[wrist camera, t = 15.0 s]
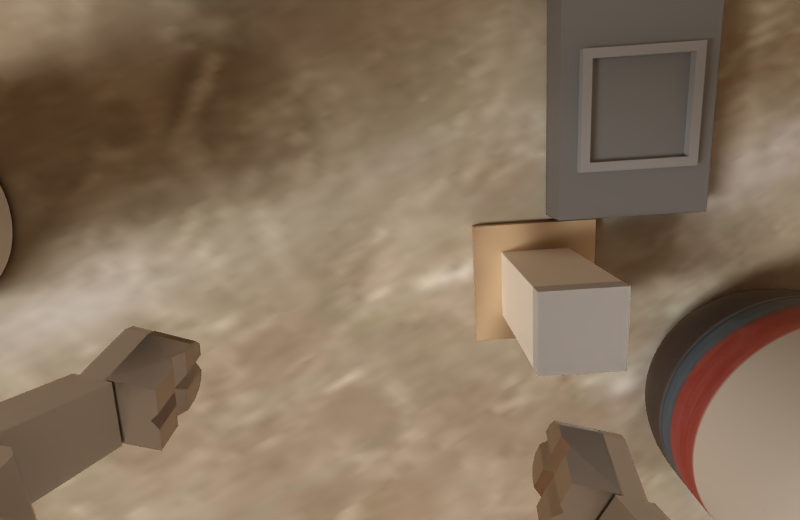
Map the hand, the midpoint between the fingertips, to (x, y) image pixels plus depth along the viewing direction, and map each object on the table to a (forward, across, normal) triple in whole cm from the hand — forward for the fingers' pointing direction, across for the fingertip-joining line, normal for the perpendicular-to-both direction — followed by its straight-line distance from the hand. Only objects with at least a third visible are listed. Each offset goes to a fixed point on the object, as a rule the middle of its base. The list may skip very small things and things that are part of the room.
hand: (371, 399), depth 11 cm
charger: (+24, -10, +10) cm, 28 cm away
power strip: (+30, -11, -9) cm, 33 cm away
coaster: (+24, -10, +10) cm, 28 cm away
